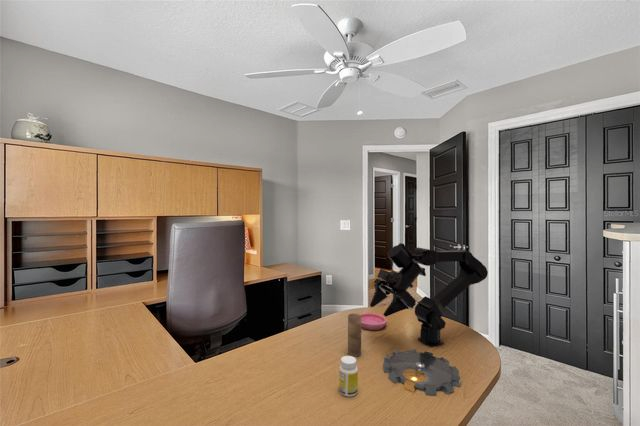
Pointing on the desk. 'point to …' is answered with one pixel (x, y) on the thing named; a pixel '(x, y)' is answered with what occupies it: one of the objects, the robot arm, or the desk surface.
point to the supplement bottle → (348, 376)
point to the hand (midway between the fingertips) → (377, 310)
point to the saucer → (373, 321)
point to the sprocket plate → (421, 371)
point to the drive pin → (354, 335)
